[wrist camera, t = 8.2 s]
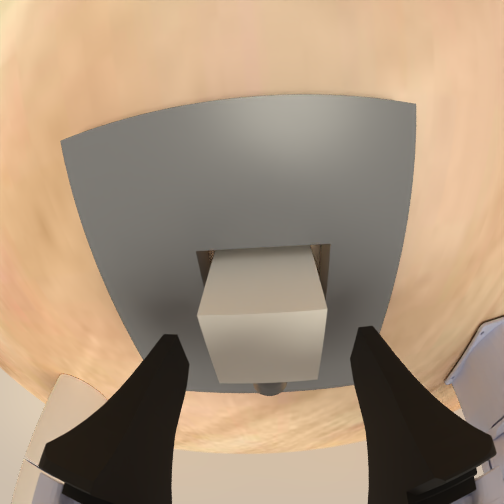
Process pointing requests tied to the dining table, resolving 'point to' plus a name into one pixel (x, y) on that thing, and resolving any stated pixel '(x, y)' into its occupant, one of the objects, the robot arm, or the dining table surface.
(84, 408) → the cylindrical container
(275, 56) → the dining table surface
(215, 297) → the plug
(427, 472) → the robot arm
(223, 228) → the socket plate
